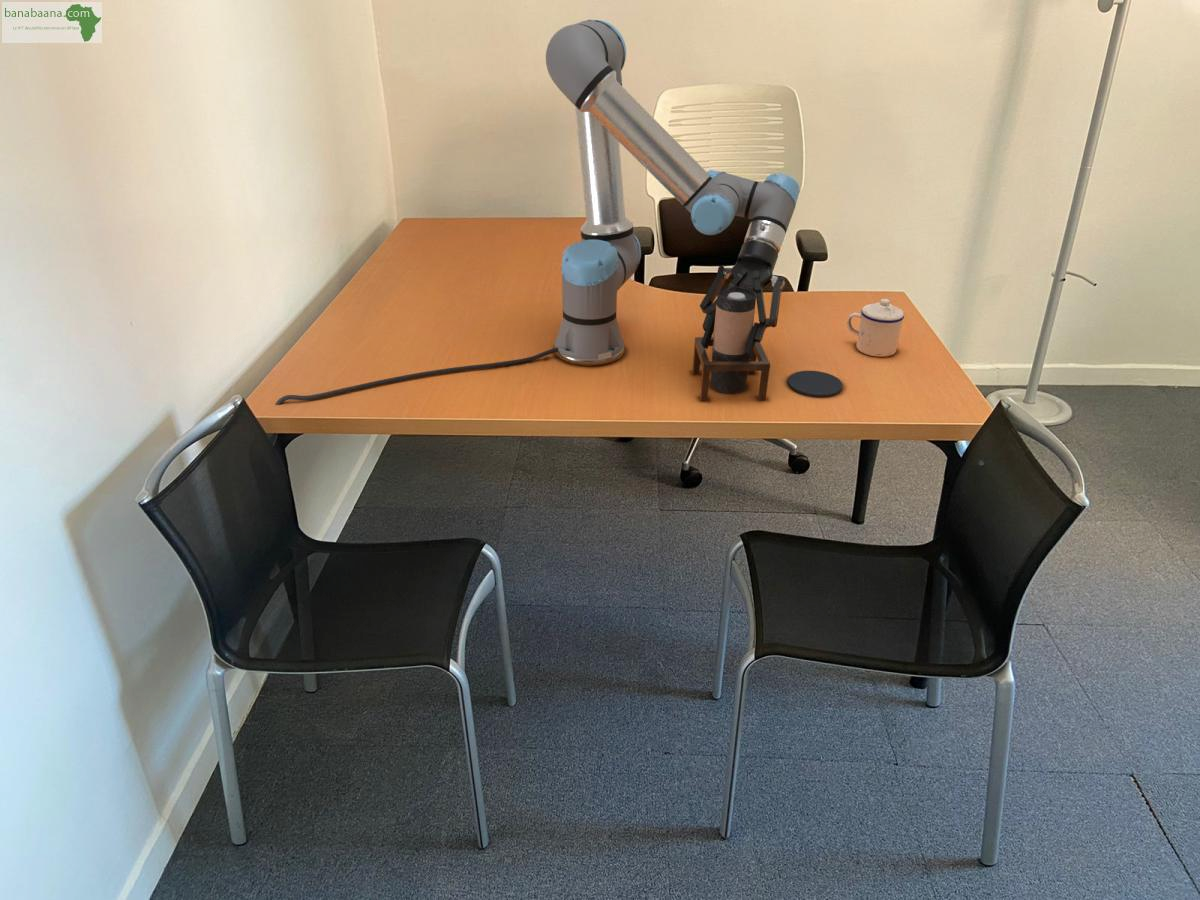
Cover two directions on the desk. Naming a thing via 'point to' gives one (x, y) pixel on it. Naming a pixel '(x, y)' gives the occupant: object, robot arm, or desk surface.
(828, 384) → the coaster
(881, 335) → the teacup with lid
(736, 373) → the travel mug
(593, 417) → the desk surface
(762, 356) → the rack
